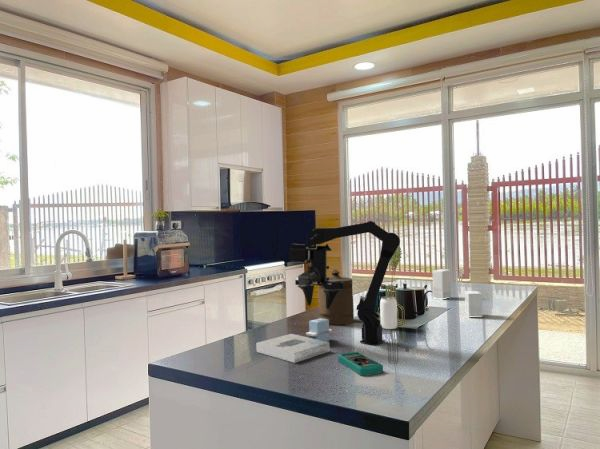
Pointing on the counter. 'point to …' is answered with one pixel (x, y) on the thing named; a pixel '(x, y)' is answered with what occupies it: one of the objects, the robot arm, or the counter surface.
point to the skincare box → (441, 283)
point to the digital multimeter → (360, 363)
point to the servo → (319, 329)
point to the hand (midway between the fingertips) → (318, 307)
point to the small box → (473, 303)
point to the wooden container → (338, 302)
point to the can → (388, 312)
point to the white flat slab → (293, 347)
